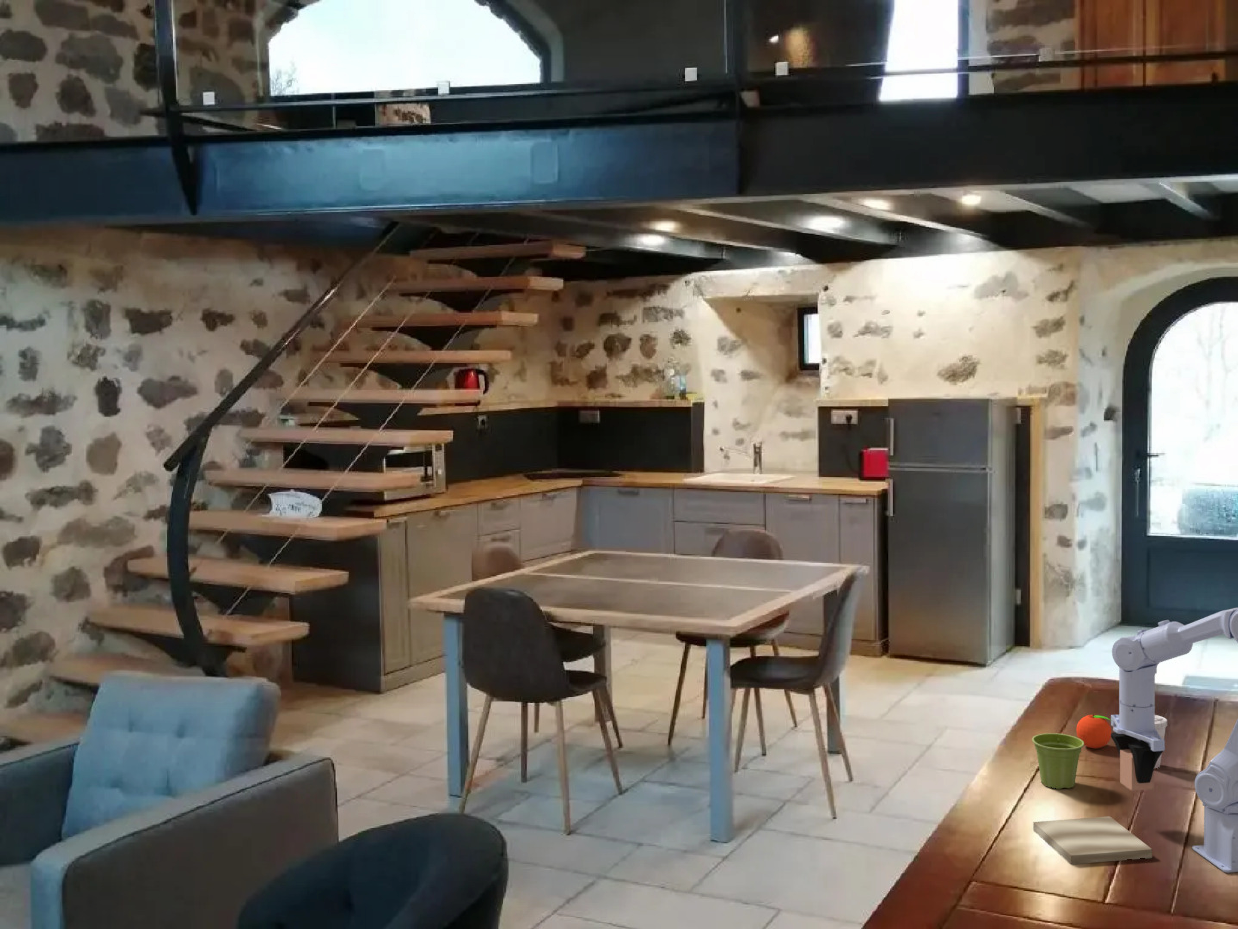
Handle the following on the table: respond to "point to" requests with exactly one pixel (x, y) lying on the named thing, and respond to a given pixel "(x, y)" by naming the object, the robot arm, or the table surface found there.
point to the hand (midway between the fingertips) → (1136, 777)
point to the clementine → (1094, 731)
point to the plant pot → (1057, 758)
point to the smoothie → (1160, 732)
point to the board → (1091, 840)
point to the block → (1131, 773)
